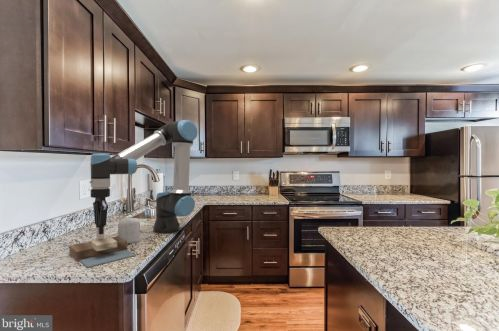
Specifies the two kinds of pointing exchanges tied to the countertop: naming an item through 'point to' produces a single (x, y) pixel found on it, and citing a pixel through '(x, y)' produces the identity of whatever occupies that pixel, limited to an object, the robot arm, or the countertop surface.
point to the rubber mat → (106, 258)
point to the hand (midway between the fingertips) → (100, 240)
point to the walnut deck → (87, 251)
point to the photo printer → (129, 230)
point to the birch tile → (103, 244)
